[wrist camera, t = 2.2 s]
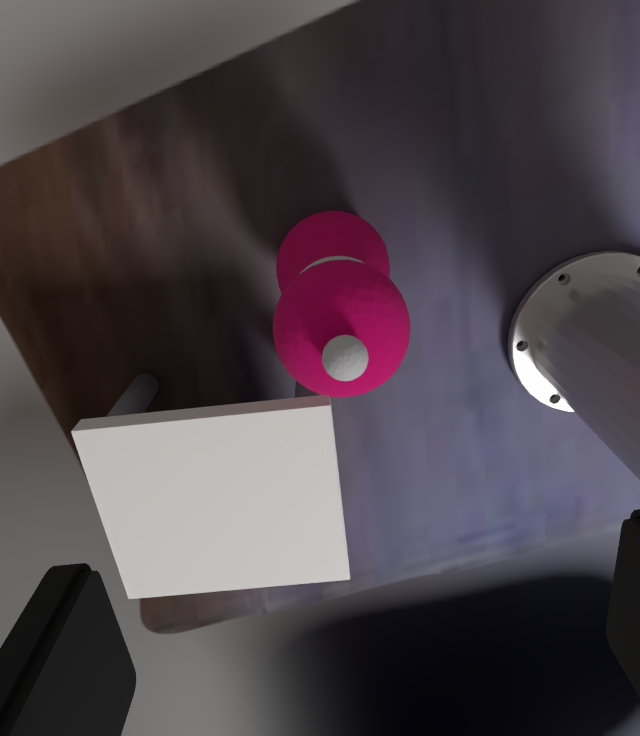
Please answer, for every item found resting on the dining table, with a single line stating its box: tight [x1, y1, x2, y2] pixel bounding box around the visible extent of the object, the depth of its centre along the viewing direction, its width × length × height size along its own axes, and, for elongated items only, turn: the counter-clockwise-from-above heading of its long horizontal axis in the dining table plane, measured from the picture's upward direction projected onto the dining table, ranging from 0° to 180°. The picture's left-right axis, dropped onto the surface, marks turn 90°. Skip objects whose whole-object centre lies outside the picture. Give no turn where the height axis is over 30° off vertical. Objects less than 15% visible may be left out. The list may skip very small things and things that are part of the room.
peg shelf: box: [71, 373, 350, 599], centre depth 39 cm, size 16×14×10 cm
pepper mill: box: [273, 211, 410, 397], centre depth 28 cm, size 7×7×20 cm
